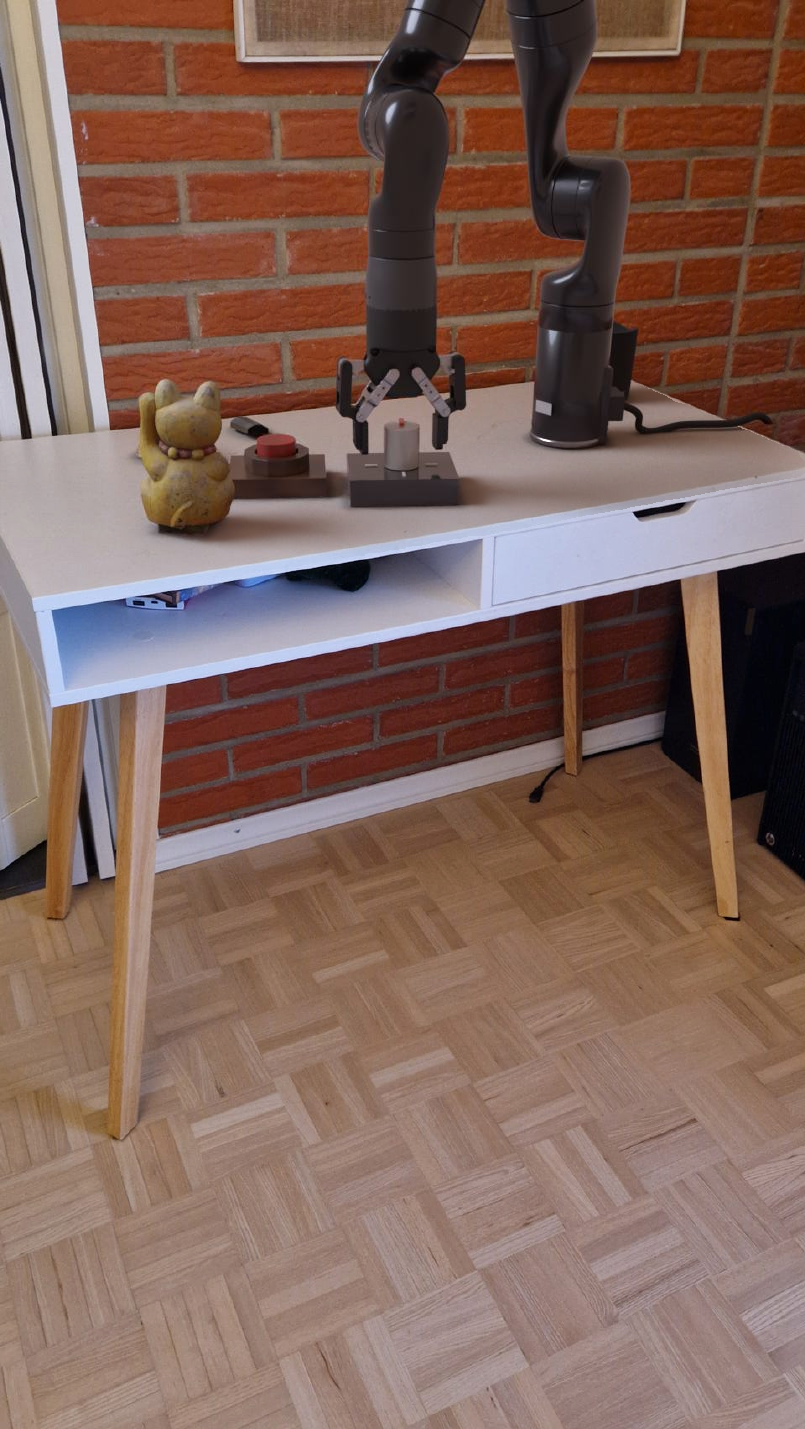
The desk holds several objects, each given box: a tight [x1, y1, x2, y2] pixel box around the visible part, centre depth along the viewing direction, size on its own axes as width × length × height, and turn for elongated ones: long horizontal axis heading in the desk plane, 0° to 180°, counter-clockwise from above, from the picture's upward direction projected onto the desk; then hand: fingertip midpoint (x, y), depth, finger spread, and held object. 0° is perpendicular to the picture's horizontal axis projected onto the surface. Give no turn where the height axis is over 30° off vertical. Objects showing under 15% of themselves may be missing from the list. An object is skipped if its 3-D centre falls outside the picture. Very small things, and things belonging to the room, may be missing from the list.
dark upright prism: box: [609, 320, 640, 401], centre depth 169 cm, size 9×9×10 cm
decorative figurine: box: [138, 378, 235, 535], centre depth 120 cm, size 10×8×15 cm
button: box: [256, 433, 297, 458], centre depth 134 cm, size 4×4×2 cm
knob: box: [383, 417, 421, 471], centre depth 132 cm, size 4×4×5 cm
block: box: [229, 415, 270, 435], centre depth 154 cm, size 4×6×2 cm, turn 32°
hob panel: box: [346, 451, 461, 508], centre depth 134 cm, size 12×10×3 cm
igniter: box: [228, 442, 328, 499], centre depth 135 cm, size 11×9×4 cm
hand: (400, 450), depth 132 cm, fingers open, 8 cm apart
